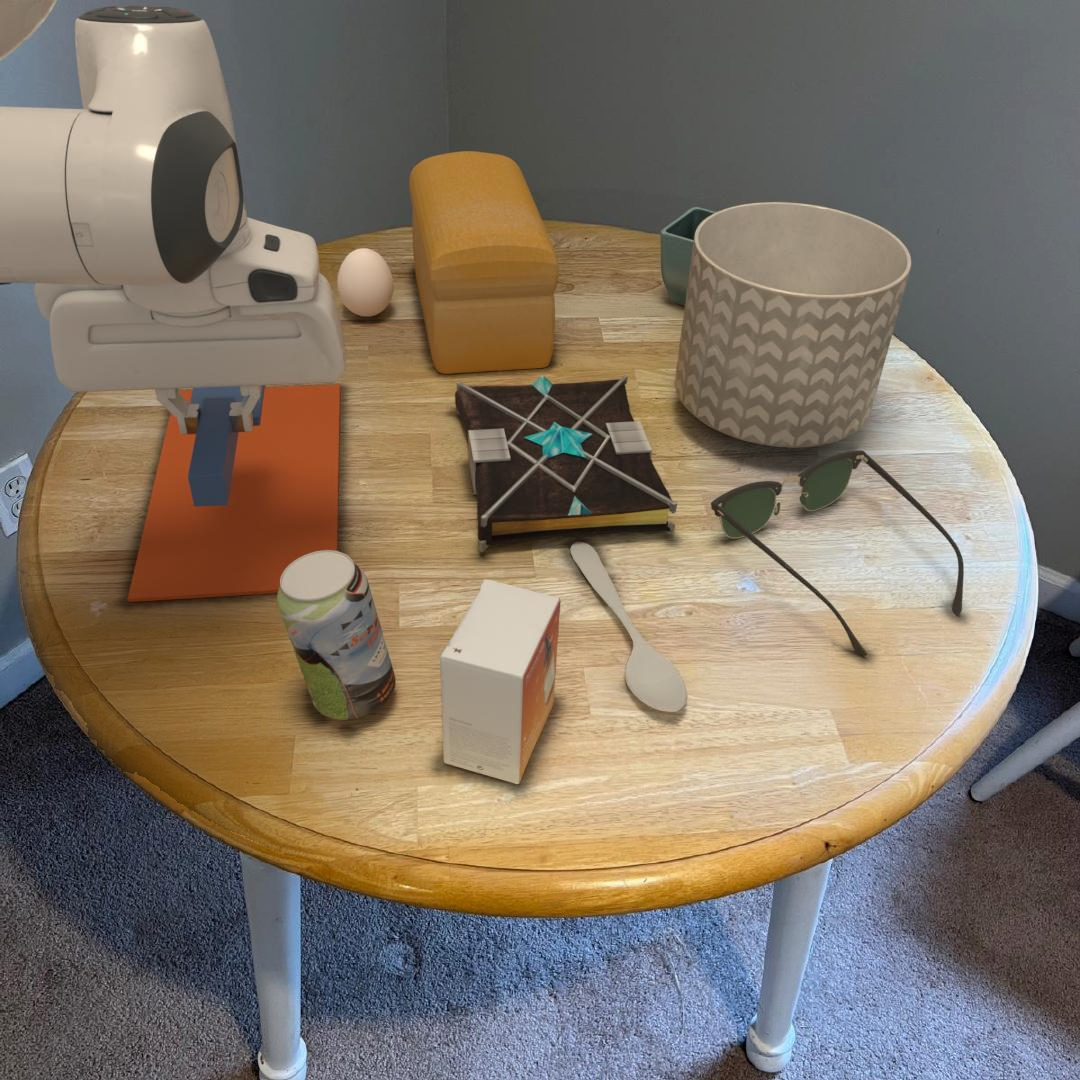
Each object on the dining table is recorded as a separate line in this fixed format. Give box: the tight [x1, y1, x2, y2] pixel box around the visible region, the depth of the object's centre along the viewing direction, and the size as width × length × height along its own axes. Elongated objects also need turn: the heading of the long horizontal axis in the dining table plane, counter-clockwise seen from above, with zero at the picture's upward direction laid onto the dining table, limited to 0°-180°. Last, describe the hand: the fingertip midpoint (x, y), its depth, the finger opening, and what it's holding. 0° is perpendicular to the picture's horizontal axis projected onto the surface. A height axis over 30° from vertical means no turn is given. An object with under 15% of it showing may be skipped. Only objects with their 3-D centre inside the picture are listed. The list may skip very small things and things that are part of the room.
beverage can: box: [276, 550, 396, 721], centre depth 75 cm, size 6×7×12 cm
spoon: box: [570, 541, 688, 713], centre depth 84 cm, size 4×21×2 cm, turn 18°
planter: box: [674, 201, 912, 448], centre depth 102 cm, size 19×19×18 cm
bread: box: [408, 150, 560, 375], centre depth 117 cm, size 24×13×15 cm, turn 10°
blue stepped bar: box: [188, 385, 266, 506], centre depth 84 cm, size 17×6×3 cm, turn 7°
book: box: [454, 374, 678, 553], centre depth 98 cm, size 22×17×5 cm
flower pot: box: [660, 206, 717, 307], centre depth 124 cm, size 9×9×9 cm
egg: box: [336, 247, 395, 318], centre depth 119 cm, size 6×6×8 cm
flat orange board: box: [127, 383, 341, 603], centre depth 97 cm, size 30×16×1 cm, turn 7°
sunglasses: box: [710, 449, 965, 657], centre depth 89 cm, size 16×17×5 cm
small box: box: [439, 578, 562, 785], centre depth 73 cm, size 8×6×10 cm
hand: (218, 429), depth 83 cm, fingers closed on blue stepped bar, 2 cm apart
